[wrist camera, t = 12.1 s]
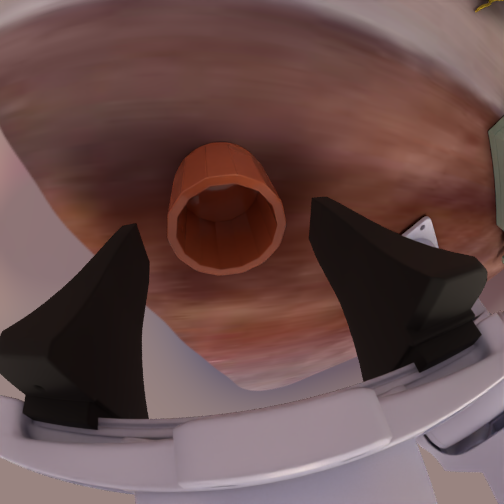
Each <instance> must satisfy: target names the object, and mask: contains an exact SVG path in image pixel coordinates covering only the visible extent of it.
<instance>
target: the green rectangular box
mask: <svg viewBox="0 0 504 504" xmlns="http://www.w3.org/2000/svg"><path fill="white" fill-rule="evenodd" d="M488 135H489V140H490V146H491V153H492V160H493V168H494V178H495V191H496V225H497V226H498V227H499V228H500V229H502V230H503V231H504V116H503V117H502V118H501V119H500V120H499V121H498V122H497V123H496V124H495V125H494V126H493V127H492V128H491V129H490V130H489V131H488Z"/></svg>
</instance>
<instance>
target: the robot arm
mask: <svg viewBox="0 0 504 504" xmlns="http://www.w3.org/2000/svg"><path fill="white" fill-rule="evenodd" d="M309 240H310V243H311V245H312V248H313V251H314V253H315V256H316V258H317V260H318V262H319V264H320V266H321V267H322V269H323V271H324V273H325V275H326V277H327V279H328V280H329V282H330V284H331V286H332V288H333V290H334V292H335V294H336V296H337V298H338V300H339V302H340V304H341V307H342V309H343V312H344V315H345V317H346V320H347V323H348V326H349V329H350V332H351V335H352V338H353V341H354V345H355V348H356V352H357V356H358V359H359V363H360V368H361V372H362V377H363V382H362V383H359V384H356V385H352V386H349V387H346V388H343V389H340V390H336V391H333V392H329V393H326V394H322V395H318V396H314V397H310V398H307V399H302V400H298V401H294V402H289V403H285V404H281V405H275V406H270V407H265V408H259V409H254V410H247V411H241V412H234V413H227V414H218V415H209V416H199V417H186V418H170V419H149V418H148V412H147V406H146V399H145V391H144V381H143V368H142V327H143V319H144V312H145V305H146V299H147V292H148V285H149V263H150V262H149V259H148V256H147V254H146V251H145V248H144V245H143V242H142V239H141V236H140V233H139V230H138V227H137V224H136V223H135V224H129V225H124V226H122V227H121V228H120V229H119V230H118V231H117V232H116V233H115V234H114V235H113V236H112V237H111V238H110V239H109V240H108V241H107V242H106V243H105V245H104V246H103V247H102V248H101V249H100V250H99V251H98V252H97V254H96V255H95V256H94V257H93V258H92V259H91V260H90V261H89V262H88V263H87V264H86V265H85V266H84V267H83V269H82V270H81V271H80V272H79V273H78V274H77V275H76V276H75V277H74V278H73V279H72V280H71V281H69V282H68V283H67V284H66V285H65V286H64V287H63V288H62V289H61V290H60V291H58V292H57V293H56V294H55V295H53V296H52V297H51V298H50V299H49V300H48V301H46V302H45V303H44V304H43V305H41V306H40V307H39V308H37V309H36V310H35V311H33V312H32V313H31V314H29V315H28V316H26V317H25V318H23V319H22V320H20V321H18V322H17V323H15V324H14V325H12V326H10V327H9V328H7V329H5V330H4V331H2V333H1V336H0V374H1V375H2V376H3V377H4V378H6V379H7V380H8V381H9V382H10V383H11V384H13V385H14V386H15V387H16V388H18V389H19V390H20V391H22V392H23V393H24V394H25V395H26V396H25V402H23V401H21V400H19V399H16V398H12V397H7V396H2V395H1V396H0V457H1V458H3V459H5V460H7V461H9V462H11V463H14V464H16V465H18V466H21V467H23V468H26V469H28V470H31V471H33V472H36V473H39V474H42V475H45V476H48V477H51V478H55V479H59V480H62V481H65V482H69V483H73V484H77V485H82V486H86V487H91V488H96V489H101V490H106V491H113V492H119V493H126V494H135V504H438V503H437V500H436V497H435V494H434V491H433V487H432V484H431V482H430V478H429V475H428V473H427V470H426V467H425V464H424V461H423V459H422V456H421V453H420V451H419V448H418V445H420V446H421V447H422V448H423V449H425V450H426V451H428V452H429V453H431V454H432V455H433V456H434V457H435V458H436V459H437V461H438V462H439V463H440V464H441V466H442V467H443V469H444V470H445V471H453V472H482V473H483V475H484V476H485V478H486V480H487V482H488V484H489V486H490V488H491V490H492V492H493V494H494V496H495V498H496V500H497V502H498V504H504V311H503V312H502V311H501V310H500V311H498V313H493V314H490V313H489V312H488V311H487V309H486V308H485V306H484V305H483V304H482V302H481V301H480V300H479V298H478V297H479V295H480V294H481V292H482V290H483V288H484V286H485V284H486V281H487V270H486V269H485V267H484V266H483V265H482V264H481V263H480V262H479V261H478V260H477V259H476V258H475V257H473V256H469V255H464V254H459V253H454V252H450V251H446V250H443V249H439V247H438V243H437V240H436V236H435V232H434V228H433V225H432V221H431V219H430V218H429V217H428V216H425V217H423V218H422V219H421V220H419V221H418V222H417V223H416V224H415V225H413V226H412V227H411V228H410V229H408V230H407V231H406V232H405V233H403V234H402V235H400V234H398V233H395V232H393V231H391V230H389V229H386V228H384V227H382V226H380V225H379V224H377V223H375V222H373V221H371V220H369V219H367V218H365V217H363V216H362V215H360V214H358V213H356V212H354V211H353V210H351V209H349V208H347V207H345V206H344V205H342V204H340V203H338V202H336V201H334V200H332V199H330V198H328V197H315V198H312V202H311V217H310V230H309ZM416 442H417V443H418V445H417V443H416Z"/></svg>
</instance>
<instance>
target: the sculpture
mask: <svg viewBox="0 0 504 504" xmlns="http://www.w3.org/2000/svg"><path fill="white" fill-rule="evenodd" d="M488 1H489V3H487V4H483V5H481V6H480V7H478V8H477V9H476V10H475V12H478V11H479V10H481V9H483V8H485V7H488V6H490V5H491V3H492V2H494V1H504V0H488Z"/></svg>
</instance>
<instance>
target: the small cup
mask: <svg viewBox="0 0 504 504" xmlns="http://www.w3.org/2000/svg"><path fill="white" fill-rule="evenodd" d="M285 227H286V218H285V213H284V209H283V204H282V201H281V199H280V197H279V196H278V194H277V192H276V190H275V188H274V187H273V185H272V183H271V181H270V179H269V178H268V176H267V174H266V172H265V171H264V169H263V167H262V165H261V164H260V163H259V162H258V161H257V159H256V158H255V157H254V156H253V155H252V154H251V153H250V152H249V151H248V150H246V149H245V148H243V147H241V146H239V145H236V144H232V143H227V142H215V143H209V144H206V145H203V146H201V147H199V148H197V149H195V150H194V151H192V152H191V153H190V154H188V155H187V156H186V157H185V159H184V160H183V161H182V162H181V164H180V166H179V168H178V170H177V173H176V174H175V177H174V182H173V187H172V192H171V198H170V204H169V209H168V215H167V239H168V241H169V243H170V245H171V247H172V249H173V250H174V252H175V254H176V256H177V257H178V258H179V259H180V260H181V261H183V262H184V263H186V264H187V265H189V266H190V267H192V268H193V269H194V270H197V271H199V272H204V273H209V274H213V275H218V276H219V275H220V276H222V275H230V274H237V273H243V272H246V271H248V270H250V269H252V268H254V267H256V266H258V265H260V264H262V263H264V262H265V261H266V260H267V259H268V258H269V257H270V256H271V254H272V253H273V252H274V251H275V250H276V249H277V248H278V247H279V246H280V244H281V240H282V237H283V234H284V231H285Z"/></svg>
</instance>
